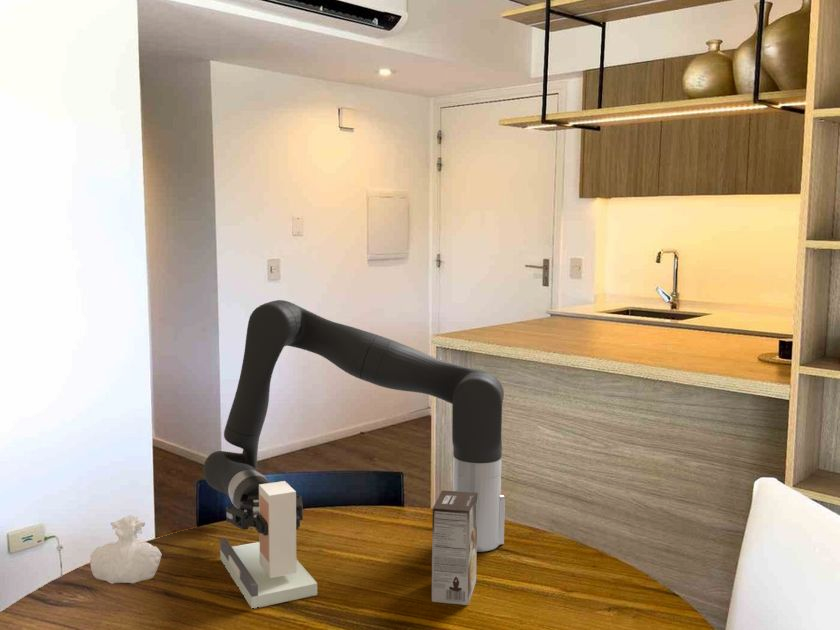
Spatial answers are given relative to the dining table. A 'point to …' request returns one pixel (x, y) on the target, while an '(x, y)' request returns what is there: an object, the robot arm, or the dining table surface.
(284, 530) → the carton
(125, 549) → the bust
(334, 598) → the dining table surface
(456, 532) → the coffee box
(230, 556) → the shelf board
